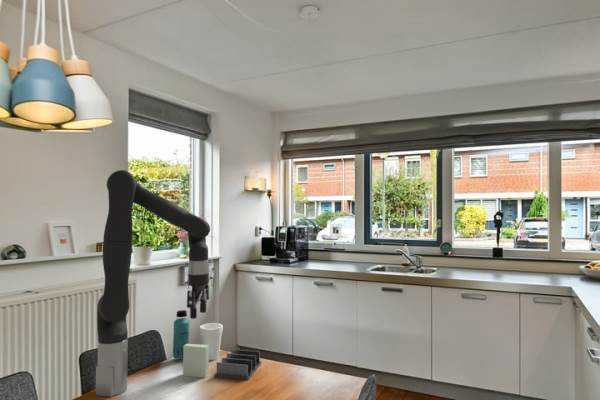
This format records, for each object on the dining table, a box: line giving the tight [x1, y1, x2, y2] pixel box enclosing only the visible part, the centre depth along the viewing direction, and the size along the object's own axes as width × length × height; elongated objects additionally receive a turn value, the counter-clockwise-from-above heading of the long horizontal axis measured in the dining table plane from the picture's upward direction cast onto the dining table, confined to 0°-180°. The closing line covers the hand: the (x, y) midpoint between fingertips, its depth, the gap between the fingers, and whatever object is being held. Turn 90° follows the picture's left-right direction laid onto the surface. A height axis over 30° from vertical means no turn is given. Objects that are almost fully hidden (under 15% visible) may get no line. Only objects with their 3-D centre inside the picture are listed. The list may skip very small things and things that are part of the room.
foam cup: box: [199, 322, 224, 361], centre depth 172 cm, size 10×9×13 cm
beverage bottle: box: [172, 309, 190, 360], centre depth 169 cm, size 6×7×20 cm
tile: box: [182, 343, 210, 378], centre depth 153 cm, size 3×9×11 cm, turn 78°
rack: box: [214, 348, 262, 381], centre depth 158 cm, size 16×13×5 cm
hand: (198, 315), depth 154 cm, fingers open, 8 cm apart
